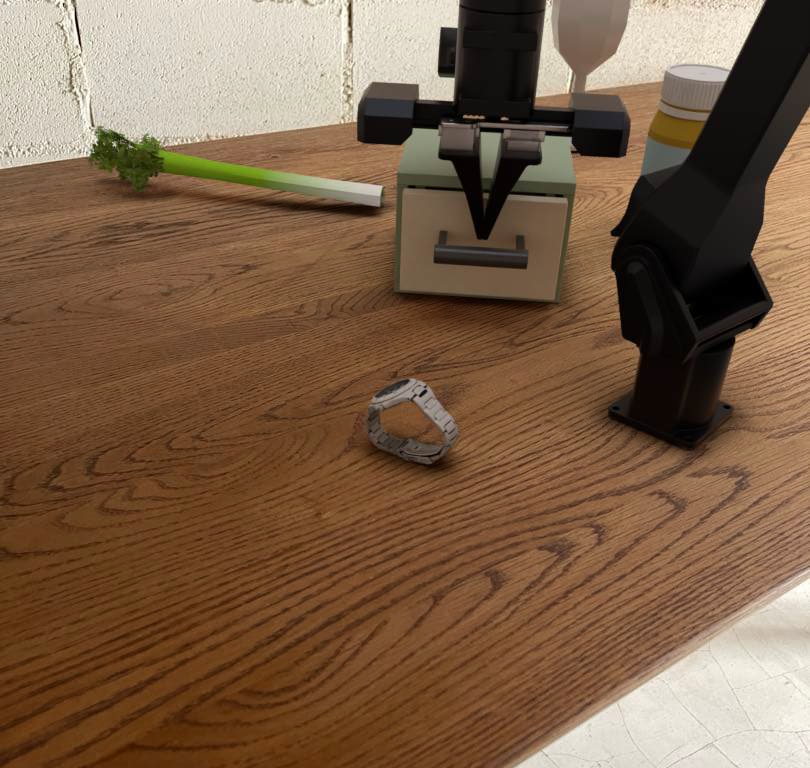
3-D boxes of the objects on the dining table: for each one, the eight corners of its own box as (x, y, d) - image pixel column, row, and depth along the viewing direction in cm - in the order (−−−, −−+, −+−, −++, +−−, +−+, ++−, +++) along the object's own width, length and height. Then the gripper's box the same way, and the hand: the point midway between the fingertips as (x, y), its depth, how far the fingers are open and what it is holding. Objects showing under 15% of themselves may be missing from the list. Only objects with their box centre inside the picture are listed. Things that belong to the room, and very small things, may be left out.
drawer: (556, 327, 72) (571, 226, 66) (394, 316, 72) (396, 215, 67) (548, 241, 85) (560, 151, 80) (411, 232, 85) (414, 143, 80)
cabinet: (559, 303, 77) (576, 183, 71) (393, 292, 78) (396, 172, 71) (552, 239, 88) (567, 130, 81) (407, 230, 88) (410, 121, 82)
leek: (374, 241, 90) (76, 190, 92) (384, 224, 96) (105, 177, 98) (381, 175, 87) (73, 123, 88) (392, 162, 93) (102, 114, 94)
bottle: (704, 264, 84) (749, 86, 75) (627, 256, 85) (660, 78, 76) (701, 236, 89) (742, 66, 80) (628, 228, 90) (660, 59, 81)
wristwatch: (382, 427, 62) (383, 359, 58) (464, 456, 59) (470, 388, 56) (353, 452, 59) (352, 383, 56) (437, 483, 57) (442, 413, 54)
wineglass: (521, 135, 113) (543, -70, 100) (582, 128, 116) (611, -71, 103) (560, 156, 107) (589, -58, 94) (622, 149, 110) (659, -60, 97)
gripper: (631, -9, 67) (596, 208, 77) (374, -21, 68) (372, 194, 78) (650, 22, 58) (608, 261, 68) (355, 7, 59) (356, 246, 69)
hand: (482, 238), depth 71 cm, fingers closed
